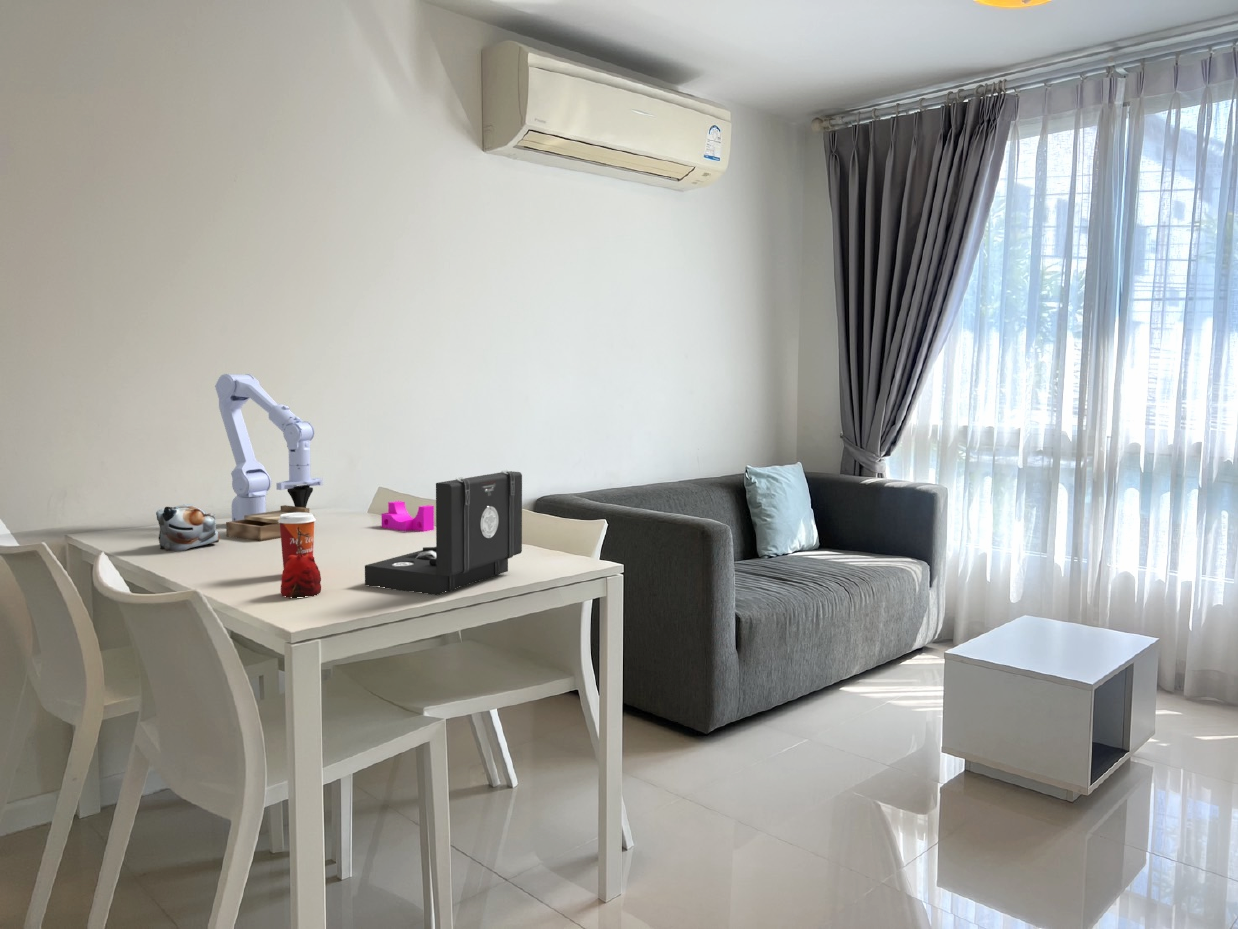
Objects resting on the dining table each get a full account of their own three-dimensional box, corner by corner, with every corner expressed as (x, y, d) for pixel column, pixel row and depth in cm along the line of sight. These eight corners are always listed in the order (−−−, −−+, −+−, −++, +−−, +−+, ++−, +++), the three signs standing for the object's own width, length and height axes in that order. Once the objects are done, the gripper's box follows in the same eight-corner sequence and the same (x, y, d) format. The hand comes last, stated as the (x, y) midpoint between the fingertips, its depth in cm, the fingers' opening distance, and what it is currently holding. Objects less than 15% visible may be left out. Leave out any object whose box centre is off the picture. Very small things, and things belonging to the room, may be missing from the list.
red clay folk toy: (323, 594, 184) (322, 521, 182) (318, 603, 177) (316, 526, 175) (284, 595, 182) (282, 521, 181) (276, 604, 176) (275, 527, 174)
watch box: (421, 566, 213) (420, 462, 211) (523, 579, 201) (524, 469, 199) (343, 588, 190) (341, 472, 188) (453, 604, 178) (453, 480, 176)
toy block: (381, 529, 262) (381, 503, 262) (398, 526, 268) (398, 501, 267) (416, 535, 254) (416, 508, 253) (433, 532, 259) (433, 505, 258)
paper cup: (295, 584, 192) (293, 518, 191) (271, 579, 196) (270, 515, 195) (325, 577, 199) (323, 513, 197) (301, 573, 203) (300, 510, 201)
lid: (244, 519, 250) (244, 509, 250) (280, 513, 260) (280, 504, 260) (278, 523, 243) (278, 514, 243) (314, 518, 253) (314, 508, 253)
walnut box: (226, 536, 246) (226, 522, 245) (264, 530, 256) (263, 516, 256) (260, 542, 239) (260, 527, 238) (298, 535, 249) (297, 521, 248)
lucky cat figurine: (229, 538, 237) (224, 491, 231) (211, 564, 226) (205, 516, 220) (170, 533, 236) (163, 486, 230) (149, 559, 226) (141, 510, 219)
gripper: (288, 468, 248) (289, 517, 250) (329, 463, 261) (330, 511, 262) (270, 466, 252) (272, 515, 253) (312, 462, 264) (313, 508, 266)
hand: (300, 512), depth 258 cm, fingers closed
